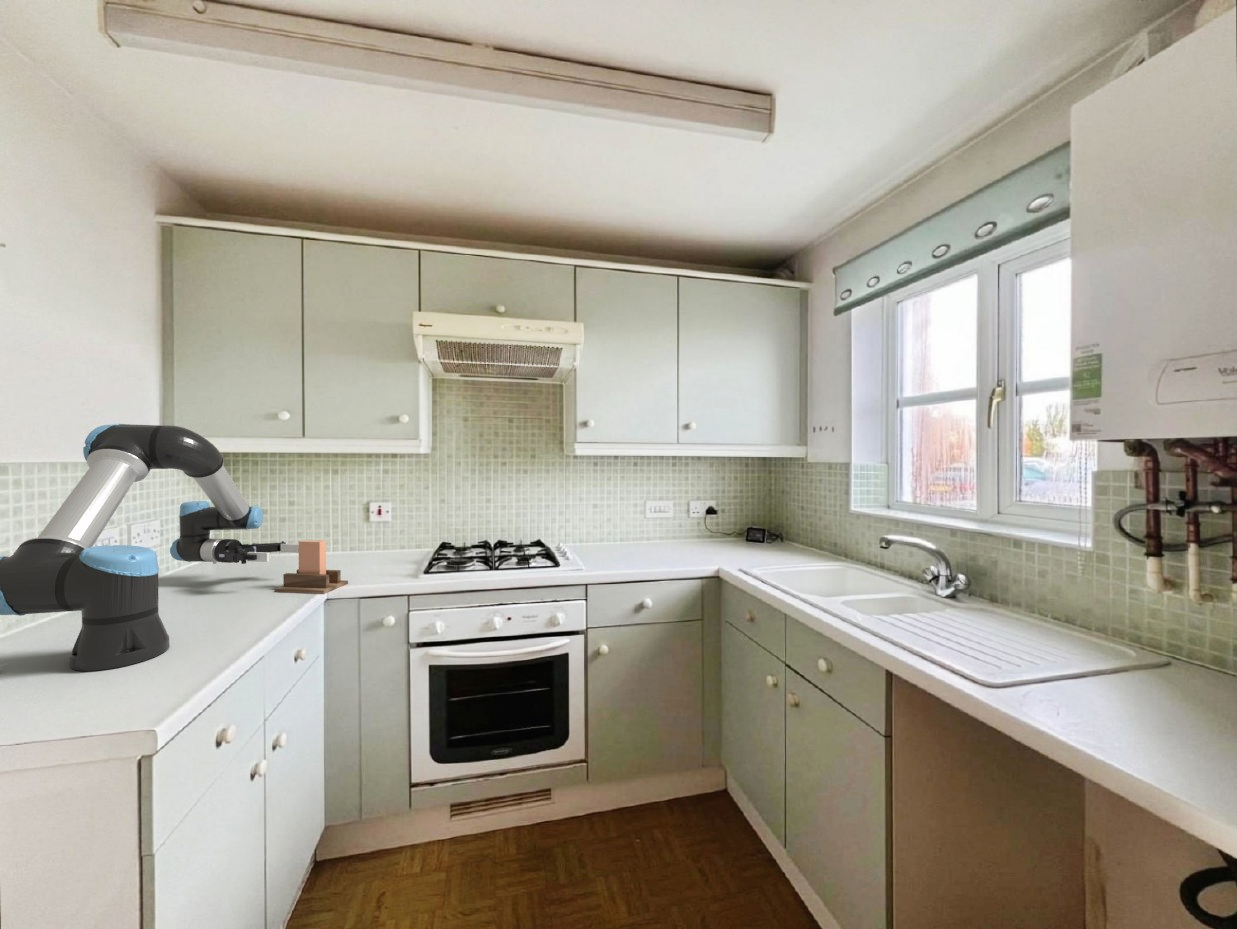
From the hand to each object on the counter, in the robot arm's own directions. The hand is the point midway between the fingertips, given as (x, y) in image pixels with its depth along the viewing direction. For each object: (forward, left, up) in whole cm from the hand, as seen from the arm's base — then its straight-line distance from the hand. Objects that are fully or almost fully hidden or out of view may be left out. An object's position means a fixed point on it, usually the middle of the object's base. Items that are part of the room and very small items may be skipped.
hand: (284, 552), depth 161 cm
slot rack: (-2, -9, -11) cm, 14 cm away
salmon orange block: (-2, -9, -10) cm, 14 cm away
